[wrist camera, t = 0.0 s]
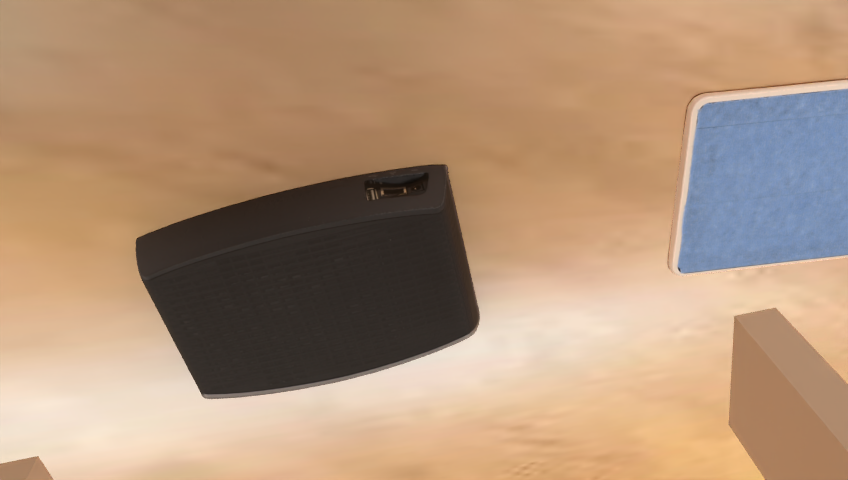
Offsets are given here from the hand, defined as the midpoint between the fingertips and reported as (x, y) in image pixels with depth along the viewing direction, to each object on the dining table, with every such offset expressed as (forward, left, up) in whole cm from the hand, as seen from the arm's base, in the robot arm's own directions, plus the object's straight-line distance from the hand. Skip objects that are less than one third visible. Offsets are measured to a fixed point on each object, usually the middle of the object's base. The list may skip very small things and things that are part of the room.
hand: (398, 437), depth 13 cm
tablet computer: (+13, +27, -29) cm, 41 cm away
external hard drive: (+13, -6, -29) cm, 32 cm away
